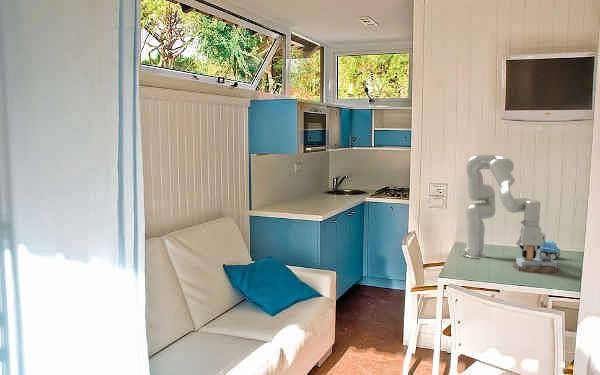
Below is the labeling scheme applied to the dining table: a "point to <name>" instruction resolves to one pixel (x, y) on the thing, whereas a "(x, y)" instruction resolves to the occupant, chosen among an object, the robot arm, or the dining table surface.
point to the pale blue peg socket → (536, 262)
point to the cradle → (537, 269)
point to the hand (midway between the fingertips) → (528, 257)
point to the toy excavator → (549, 248)
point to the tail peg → (529, 253)
